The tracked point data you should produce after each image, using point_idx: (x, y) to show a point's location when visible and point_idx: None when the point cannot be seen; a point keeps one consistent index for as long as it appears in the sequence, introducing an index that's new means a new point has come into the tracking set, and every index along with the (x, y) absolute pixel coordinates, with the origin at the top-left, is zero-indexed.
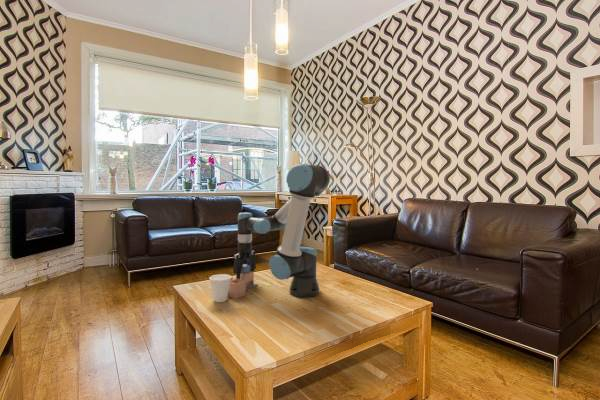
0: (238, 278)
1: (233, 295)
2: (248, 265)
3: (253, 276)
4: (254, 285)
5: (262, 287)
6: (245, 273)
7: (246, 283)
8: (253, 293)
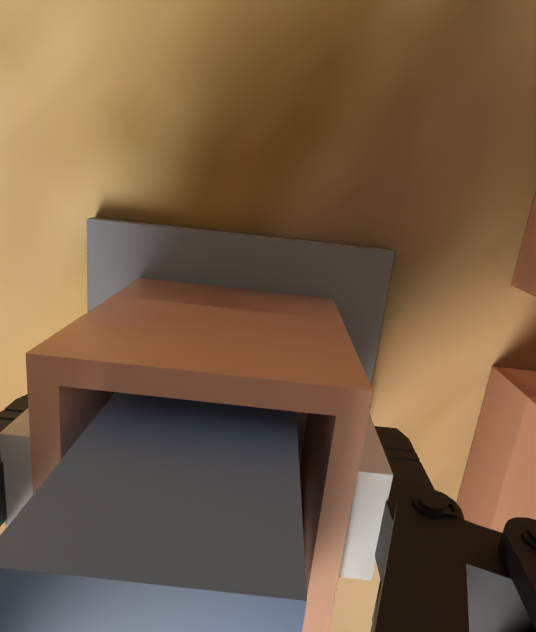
0: (409, 452)
1: None
2: (52, 602)
3: (87, 315)
4: (163, 236)
5: (117, 93)
6: (269, 433)
7: (291, 309)
8: (437, 14)
